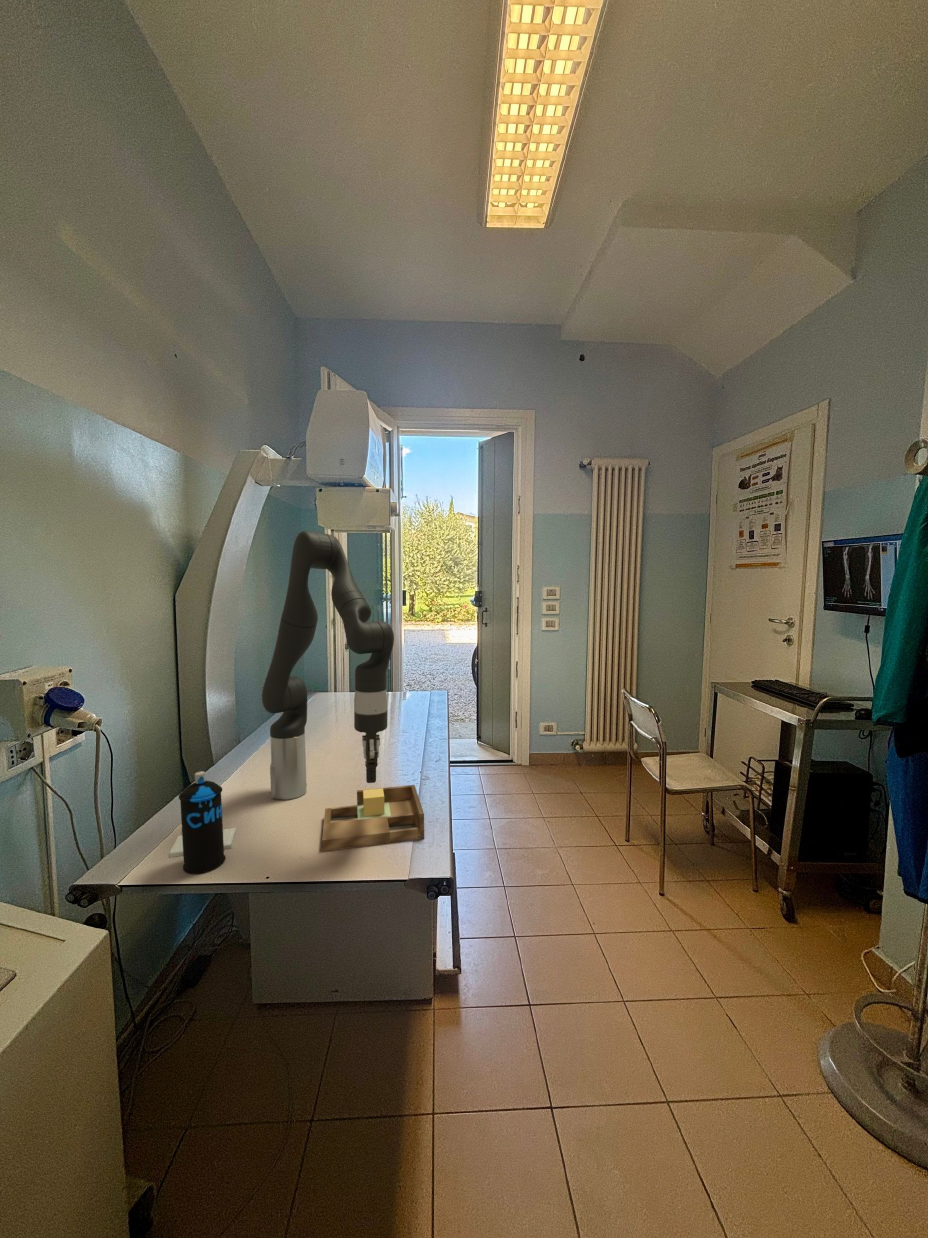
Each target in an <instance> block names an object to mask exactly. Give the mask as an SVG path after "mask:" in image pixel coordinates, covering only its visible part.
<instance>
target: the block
mask: <svg viewBox="0 0 928 1238" xmlns="http://www.w3.org/2000/svg"><path fill="white" fill-rule="evenodd" d="M380 788H381V789H377V788H370V790H367V789H362V790H363V806H364V816H371V815H380V814H385V808H384V792H383V788H384V787H380Z"/></svg>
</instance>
